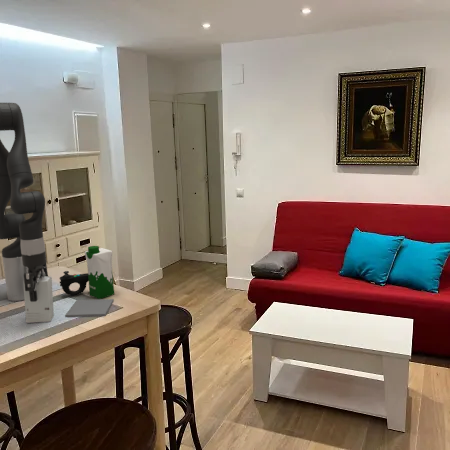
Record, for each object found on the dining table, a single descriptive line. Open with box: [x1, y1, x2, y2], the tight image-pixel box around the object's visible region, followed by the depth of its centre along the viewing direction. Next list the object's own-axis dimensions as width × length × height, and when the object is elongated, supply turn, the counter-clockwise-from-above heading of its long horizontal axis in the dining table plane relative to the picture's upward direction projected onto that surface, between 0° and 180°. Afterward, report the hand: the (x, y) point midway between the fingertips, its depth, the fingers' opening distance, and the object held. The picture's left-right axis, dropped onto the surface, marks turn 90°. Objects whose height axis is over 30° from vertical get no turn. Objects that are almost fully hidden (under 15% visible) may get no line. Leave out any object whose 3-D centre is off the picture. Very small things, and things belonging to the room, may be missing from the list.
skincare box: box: [23, 275, 55, 324], centre depth 156 cm, size 8×6×15 cm
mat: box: [64, 298, 115, 318], centre depth 166 cm, size 14×14×1 cm
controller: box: [59, 270, 89, 297], centre depth 180 cm, size 4×12×10 cm, turn 113°
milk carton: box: [84, 245, 115, 299], centre depth 178 cm, size 9×9×20 cm
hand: (38, 296), depth 156 cm, fingers open, 8 cm apart
